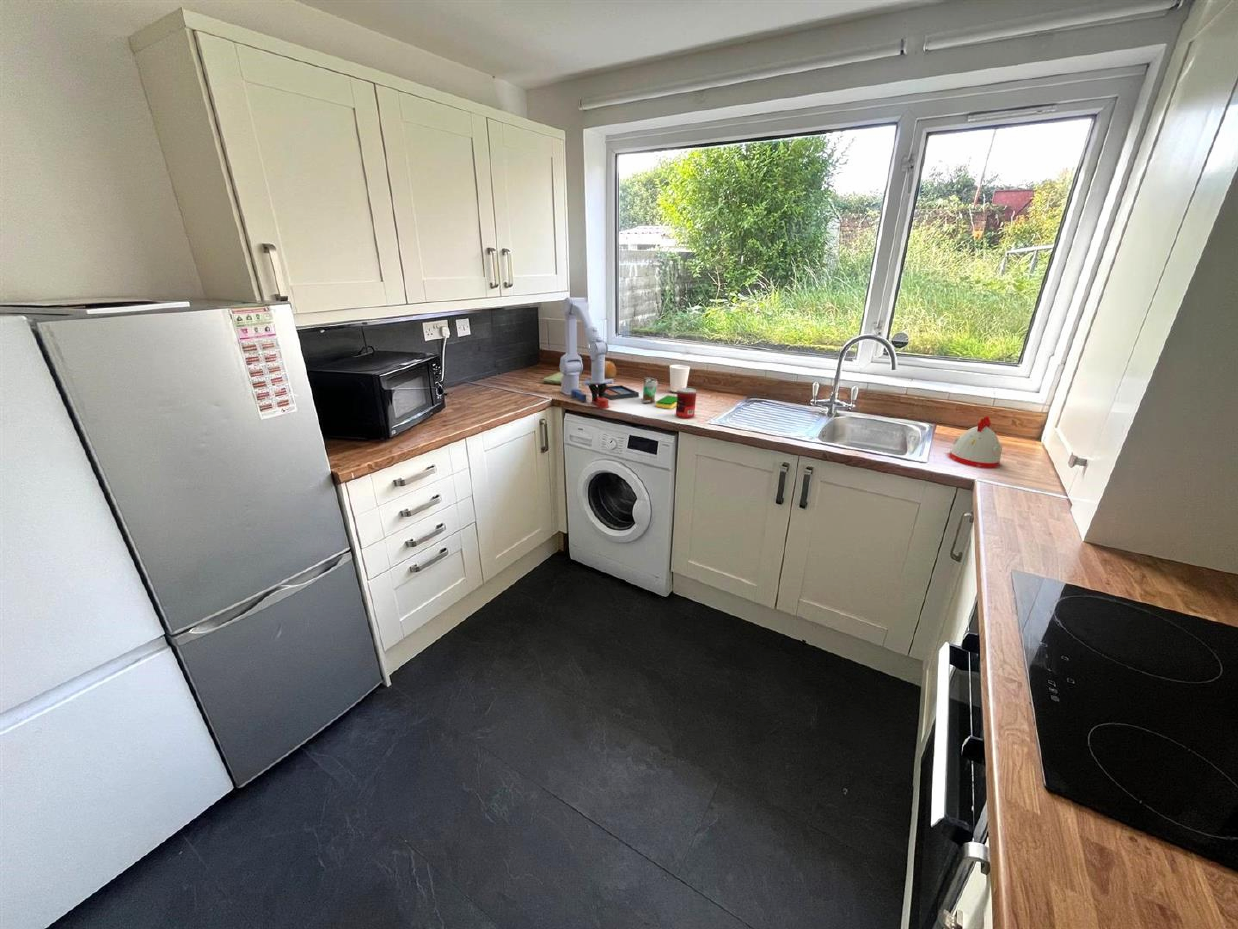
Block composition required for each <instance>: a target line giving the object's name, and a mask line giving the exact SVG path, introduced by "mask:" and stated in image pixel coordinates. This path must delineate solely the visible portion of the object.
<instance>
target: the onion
mask: <svg viewBox="0 0 1238 929" xmlns="http://www.w3.org/2000/svg"><path fill="white" fill-rule="evenodd" d="M616 375H617V366H616V365H615V364H614V362H613V361H610V360H605V375H604V379H613V380H614V378H615V377H616Z"/></svg>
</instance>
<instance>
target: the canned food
mask: <svg viewBox="0 0 1238 929" xmlns="http://www.w3.org/2000/svg"><path fill="white" fill-rule="evenodd" d="M676 397H677V404H676V406H675V416H676V417H677V418H680V419H692V418H694V416H695V413H696V412H695V411H696V401H697V389H695V388H691V387H686V388H679V389H678V391H677V393H676Z"/></svg>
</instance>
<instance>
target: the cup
mask: <svg viewBox="0 0 1238 929" xmlns="http://www.w3.org/2000/svg"><path fill="white" fill-rule="evenodd" d="M690 369H691V367H690V366H689V365H685V364H672V365H669V390H670V392H671V393H673V394H677V391H678V389H679V388H687V386H688V381H689V379H688V378H689V375H690Z"/></svg>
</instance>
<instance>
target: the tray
mask: <svg viewBox="0 0 1238 929" xmlns="http://www.w3.org/2000/svg"><path fill="white" fill-rule="evenodd" d="M597 394H598V390H597ZM639 397H640V393H639V391H636V390H634V389H632V388H630V387H627V386H626V385H625V386H624V385H622V384H619V385H607V389H606V390H605V392H604V395H603V398H606V399H608V400H610V401H612V400H613V401H614V400H622V399H623V400H624V399H634V398H639Z"/></svg>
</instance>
